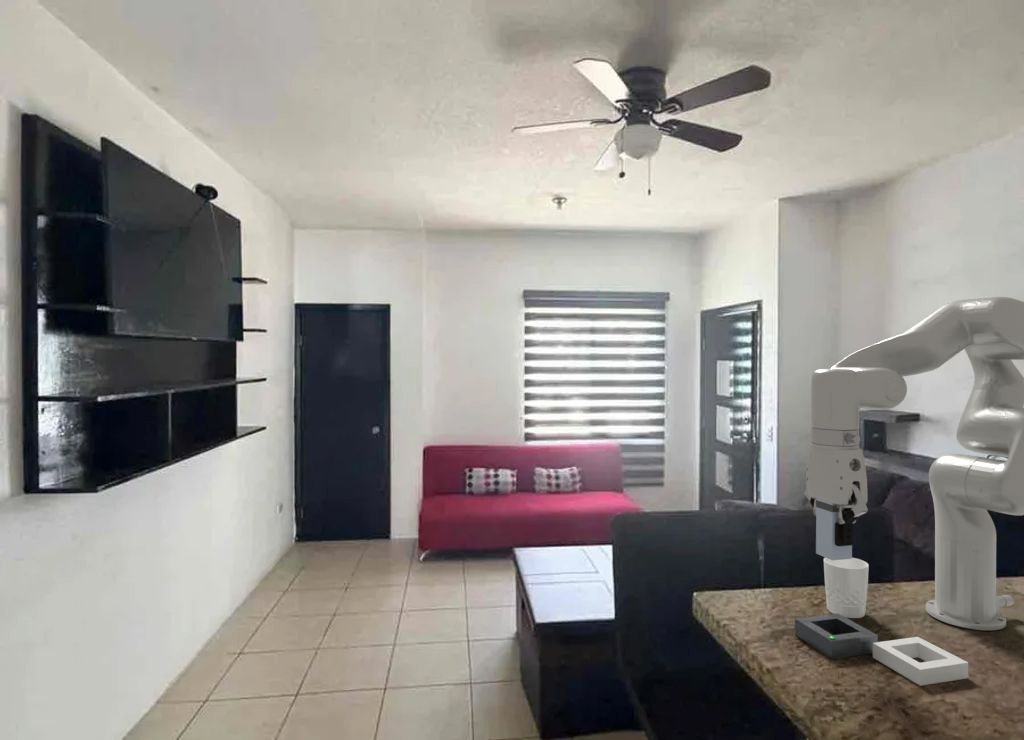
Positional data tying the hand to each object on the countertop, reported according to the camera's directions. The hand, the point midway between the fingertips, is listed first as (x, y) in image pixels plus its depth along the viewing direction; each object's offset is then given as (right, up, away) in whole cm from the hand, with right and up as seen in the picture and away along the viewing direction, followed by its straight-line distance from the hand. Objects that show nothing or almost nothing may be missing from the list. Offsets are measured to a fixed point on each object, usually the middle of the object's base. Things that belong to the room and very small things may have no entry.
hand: (833, 540), depth 108 cm
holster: (+10, -19, -8) cm, 22 cm away
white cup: (+10, -18, +14) cm, 25 cm away
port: (0, -18, 0) cm, 18 cm away
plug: (0, -3, 0) cm, 3 cm away
